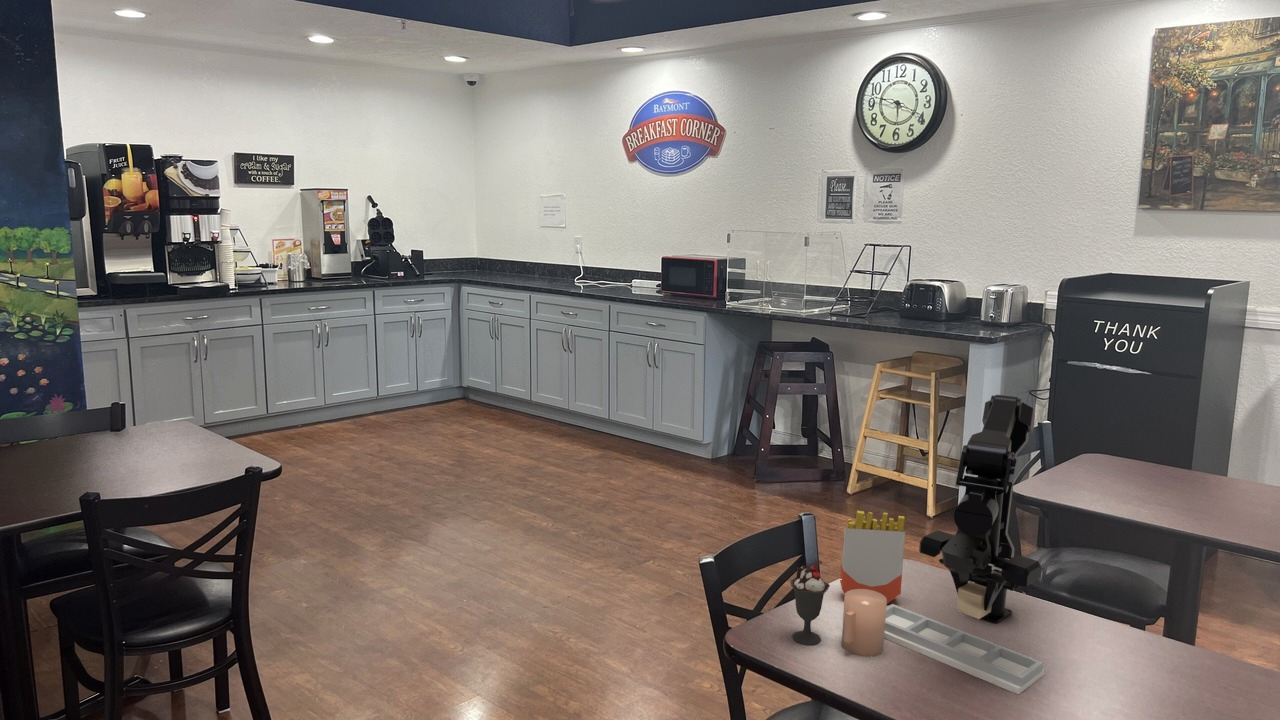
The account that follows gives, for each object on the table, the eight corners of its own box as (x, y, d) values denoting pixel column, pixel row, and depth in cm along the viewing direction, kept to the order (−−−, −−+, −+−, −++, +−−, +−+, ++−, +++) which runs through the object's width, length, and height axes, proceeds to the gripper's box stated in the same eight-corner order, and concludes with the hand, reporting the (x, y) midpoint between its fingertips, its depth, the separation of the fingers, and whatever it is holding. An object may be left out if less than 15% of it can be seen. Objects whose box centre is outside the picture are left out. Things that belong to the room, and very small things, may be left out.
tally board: (893, 615, 169) (894, 602, 169) (1043, 675, 149) (1045, 660, 149) (865, 630, 163) (866, 617, 163) (1018, 694, 143) (1019, 679, 143)
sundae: (826, 649, 156) (831, 566, 153) (786, 645, 157) (790, 563, 155) (826, 631, 163) (831, 552, 160) (788, 627, 164) (792, 548, 161)
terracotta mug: (856, 632, 162) (859, 585, 161) (891, 647, 157) (894, 598, 156) (828, 648, 157) (831, 598, 155) (863, 663, 152) (866, 613, 150)
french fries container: (839, 592, 179) (844, 504, 176) (895, 595, 178) (902, 507, 174) (841, 602, 174) (847, 512, 171) (899, 606, 173) (906, 515, 170)
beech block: (968, 603, 155) (970, 581, 154) (990, 611, 152) (992, 589, 151) (956, 610, 152) (958, 588, 152) (979, 619, 149) (981, 596, 149)
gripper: (904, 512, 151) (898, 600, 153) (1014, 545, 137) (1005, 641, 140) (939, 497, 158) (933, 582, 161) (1047, 527, 145) (1038, 619, 147)
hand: (974, 605), depth 152 cm, fingers closed on beech block, 4 cm apart
